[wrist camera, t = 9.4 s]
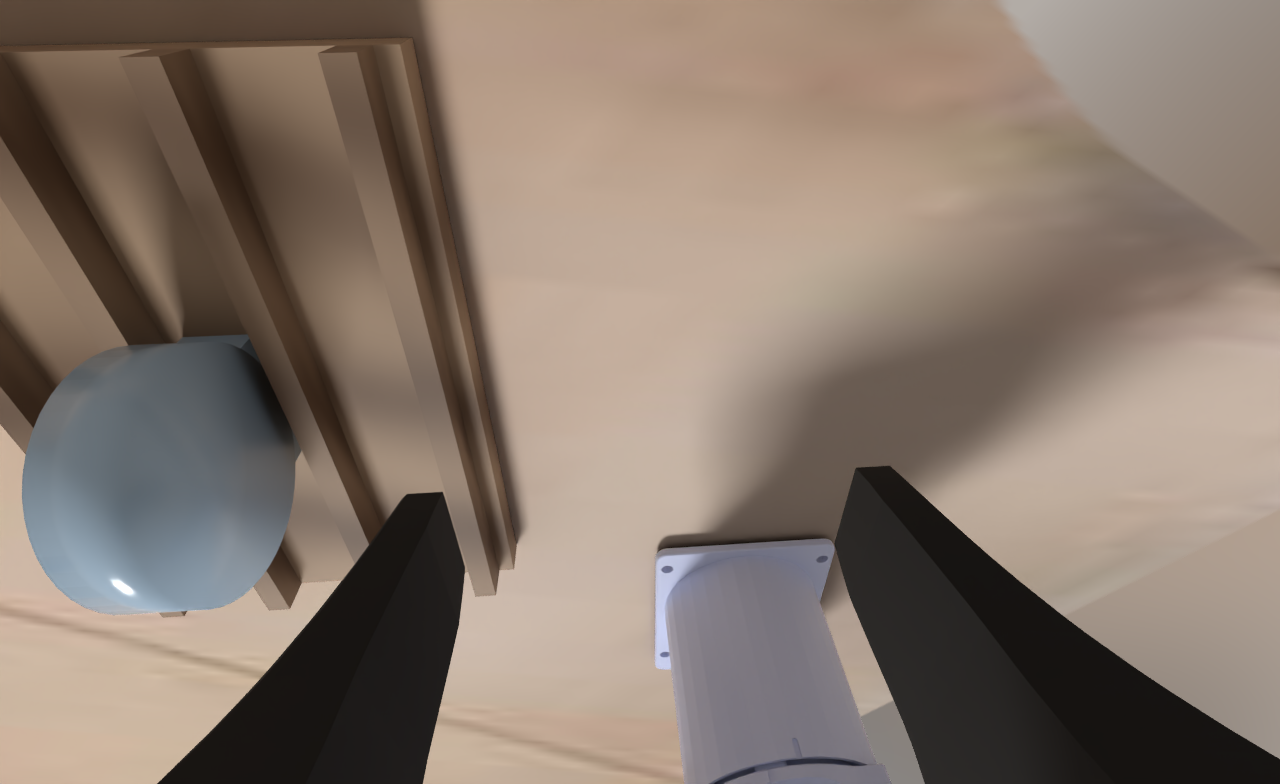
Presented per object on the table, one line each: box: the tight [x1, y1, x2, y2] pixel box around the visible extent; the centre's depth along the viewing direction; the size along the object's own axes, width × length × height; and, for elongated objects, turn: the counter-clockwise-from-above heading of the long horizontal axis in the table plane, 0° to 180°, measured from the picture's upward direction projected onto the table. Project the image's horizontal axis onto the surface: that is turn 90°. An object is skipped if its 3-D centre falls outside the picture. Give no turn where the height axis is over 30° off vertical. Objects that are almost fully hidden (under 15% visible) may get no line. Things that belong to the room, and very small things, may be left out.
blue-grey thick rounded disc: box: [22, 334, 302, 615], centre depth 16 cm, size 7×2×7 cm, turn 0°
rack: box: [0, 38, 517, 617], centre depth 19 cm, size 19×14×2 cm
